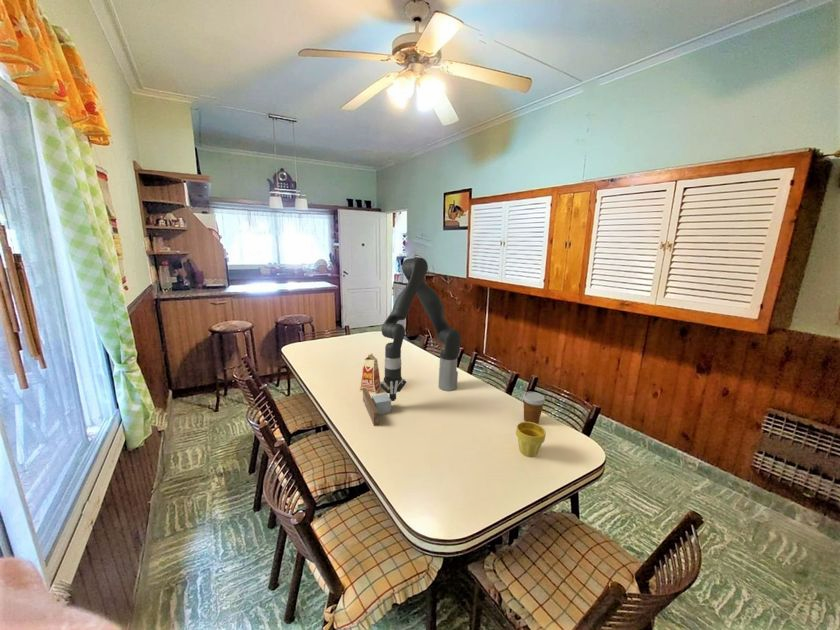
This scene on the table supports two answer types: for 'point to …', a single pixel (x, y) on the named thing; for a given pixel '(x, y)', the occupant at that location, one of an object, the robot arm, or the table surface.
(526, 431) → the plant pot
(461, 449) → the table surface
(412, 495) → the table surface
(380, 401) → the block
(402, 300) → the robot arm
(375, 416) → the board
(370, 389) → the milk carton
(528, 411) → the disposable coffee cup
